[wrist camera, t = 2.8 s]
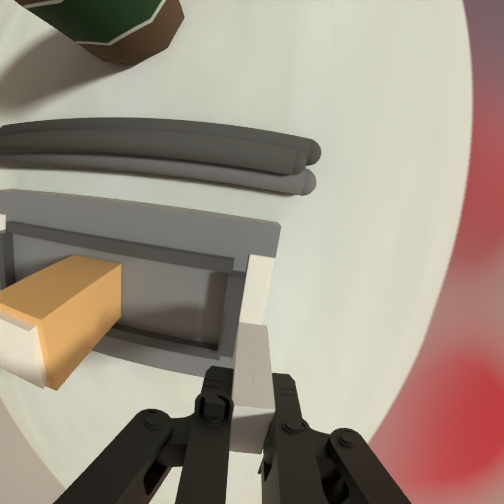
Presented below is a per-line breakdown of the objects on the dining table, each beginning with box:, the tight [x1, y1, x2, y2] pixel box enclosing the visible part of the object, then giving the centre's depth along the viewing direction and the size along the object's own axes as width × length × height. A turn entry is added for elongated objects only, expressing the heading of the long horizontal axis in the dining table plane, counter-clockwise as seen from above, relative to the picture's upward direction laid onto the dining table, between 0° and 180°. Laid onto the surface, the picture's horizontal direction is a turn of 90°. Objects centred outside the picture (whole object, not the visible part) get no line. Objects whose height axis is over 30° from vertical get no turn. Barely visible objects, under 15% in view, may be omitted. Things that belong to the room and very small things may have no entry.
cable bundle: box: [0, 118, 321, 196], centre depth 17 cm, size 28×4×3 cm, turn 81°
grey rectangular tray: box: [0, 189, 281, 377], centre depth 19 cm, size 12×24×3 cm, turn 81°
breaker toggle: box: [0, 254, 122, 391], centre depth 14 cm, size 4×4×10 cm
